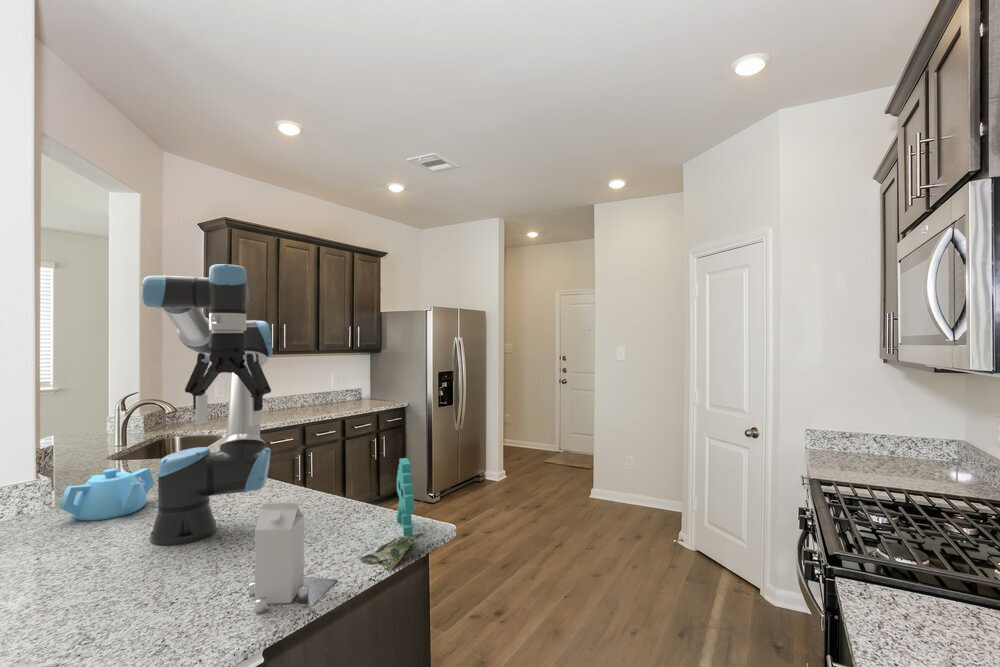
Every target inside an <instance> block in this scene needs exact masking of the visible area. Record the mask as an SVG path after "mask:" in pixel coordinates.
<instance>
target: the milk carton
mask: <svg viewBox="0 0 1000 667" xmlns="http://www.w3.org/2000/svg"><path fill="white" fill-rule="evenodd" d="M304 517H305V515H304V514H303V513H302V511H301V510H300V508H299V503H298V502H263V503H262V509H261V511H260V515H259V518H258V520H257V523H256V525H255V528H254V531H255V532H254V580H255V597H254V599H255V600H256V599H257V598H259V597H267V605H268V604H270V605H271V604H272V605H275V604H291V603H292V602H294V601H293V599H294V598H295V596H296V595H297V593H298V587H299V586H301V585H304V577H305V576H304V573H305V568H304V567H305V566H304V565H305V561H304V560H305V559H304V558H305V557H304V554H305V553H304V552H305V550H304V548H305V547H304V546H305V539H304V538H305V530H304V528H305V526H304V525H305V524H304V523H305V522H304V521H305V518H304ZM255 600H254V601H255Z"/></svg>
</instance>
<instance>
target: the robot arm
mask: <svg viewBox="0 0 1000 667" xmlns="http://www.w3.org/2000/svg"><path fill="white" fill-rule="evenodd" d="M208 273H209V275H208V277H201V276H200V277H198V276H197V277H196V276H195V277H194V276H179V275H164V274H162V275H148V276H146V277H144V278H143V280H142V282H141V297H142V303H143V304H144V305H145V306H146V307H149V308H156V309H160V308H161V309H163V310H164V312H165V313H166V316H168V318H169V319H170V321H171V322H172V323H173V325H174V326H175V328H176V329H177V331H176V332H177V333H176V334H177V336H178V339H179V340H180V342H181V343H182V344H183V345H184V346H185V347H187V348H188V349H190V350H193V351H194V352H196V353H198V354H197V359H196V364H195V366H194V368H193V370H192V373H191V374H190V376H189V380H188V381H187V384H186V386H185V388H184V392H185V393H189V394H191V395H192V396H193V398H192V400H193V404H192V406H193V410H195V425H203V424H207V423H208V401H209V400H208V398H209V397H208V394H207V392H206V391H207V390H208V389H209V387H210V386H211V385H212V384H213V383H214V381H215V379H217V377H218V375H219V374H221V373H222V374H223V373H224V374H225V373H227V374H230V383H229V394H228V396H229V399H228V409H227V410H228V411H227V414H228V415H227V427H226V428H227V429H226V439H225V440H224V441H223V442H221V443H220V445H219V451H216V452H215V451H214V452H211V450H210V448H209V447H208V446H204V447H202V446H197V447H192V448H186V449H182V450H178V451H175V452H172V453H170V454H168V455H165V456H163V457H162V458H161V459H160V461H159V463H158V472H157V480H158V481H157V482H158V484H157V487H158V490H157V491H158V492H157V495H158V496H157V497H158V508H157V509H158V510H157V511H158V512H157V516H156V519H155V521H154V524H153V528H152V531H151V532H150V535H149V543H151V544H152V545H154V546H159V547H174V546H175V547H176V546H181V545H187V544H191V543H195V542H199V541H202V540H204V539H207V538H210V537H212V536H213V535H214V534H215V533H216V532H217V528H218V524H217V521H216V519H215V517H214V513H213V511H212V508H211V505H210V504H211V503H210V497H211V496H222V495H230V494H238V493H248V492H255V491H259V490H261V489H263V488H264V487H265V485H266V482H267V479H268V474H269V469H270V460H271V448H270V447H266V442H265V440H263V439H262V438H261V418H262V417H261V414H262V412H261V411H262V410H263V405H264V404H263V400H264V399H263V397H264V396H265V395H267V394H270V393H271V392H272V389H271V386H270V384H269V382H268V380H267V378H266V375H265V373H264V370H263V366H264V365H266V364H267V362H268V361H269V359H268V358H270V357H272V356H273V355H274V354H273V353H274V352H273V344H272V343H273V342H272V337H271V336H272V334H271V329H270V324H269V323H268V322H267V321H264V320H255V319H252V320H247V305H248V304H249V302H250V301H251V297H252V296H251V290H250V287H249V286H248V284H247V281H248V278H247V270H246V268H245V267H244V266H241V265H236V264H229V263H228V264H225V263H222V264H221V263H220V264H212V265H211V266H209V272H208ZM202 309H208V318H207V317H206V315H205V314H204V312H203V310H202ZM210 362H211V364H210Z"/></svg>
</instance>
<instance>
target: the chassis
mask: <svg viewBox="0 0 1000 667" xmlns="http://www.w3.org/2000/svg"><path fill="white" fill-rule="evenodd" d="M337 582H339V580H338V579H337V578H326V577H313V576H304V585H301V586H299V587H298V593H297V595H296V596H295V598H294V599H293V601H292V602H295V603H298V604H301V605H306V606H309V607H312V606H314V605H315V603H317V601H319V600H320V599H321V598H322V597H323V596H324V595H325V594H326V593H327V592H328V591H329V590H330V589H331V588H332V587H333V586H334V585H335V584H336V583H337ZM247 590H248V597H249V598H255V579H254V580H251V581H250V582H249V583H248V587H247ZM254 605H255V606H254V607H255V608H254V610H255V612H254V613H255V614H256V615H263V614H265V613H266V612H267V611H268V608H267V607H268V604H267V597H259V598H257V599H256V600H254Z"/></svg>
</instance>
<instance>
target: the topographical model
mask: <svg viewBox="0 0 1000 667" xmlns="http://www.w3.org/2000/svg"><path fill="white" fill-rule="evenodd" d="M424 535H425V533H423V532H422V533H416V534H413V535H409V536H404V535H402V536H398V537H396V538H394V539H393V540H390V541H388V542H387V543H384V544H383V545H381V546H380V547H378V548H377V550H375V552H374V551H373V553H369V554H366V555H364V556H362V557H361V558H360V559H359V560H360V562H361V563H362V564H363V565H369V566H370V565H371V566H376V565H379V566H381V567H382V568H383V569H384V570H385V571H388V572H392V570H393V569H394V568H395V567H396V565H397V564H398V563H399V562H400V561H401V559H402V557H404V555H405V554H406V552H408V549H409V548H410V547H411V546H412V545H411V544H412V543H413V542H414V543H415V541H417V540H418V539H419V538H421V537H422V536H424ZM410 545H411V546H410Z"/></svg>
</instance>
